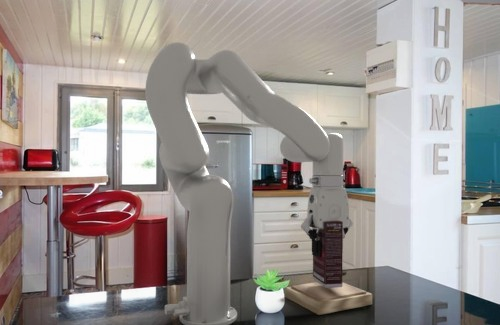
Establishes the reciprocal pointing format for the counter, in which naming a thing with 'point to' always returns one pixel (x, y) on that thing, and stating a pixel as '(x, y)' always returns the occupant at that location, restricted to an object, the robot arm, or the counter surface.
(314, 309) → the oak stand
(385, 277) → the counter surface
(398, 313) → the counter surface
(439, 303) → the counter surface
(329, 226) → the supplement box
